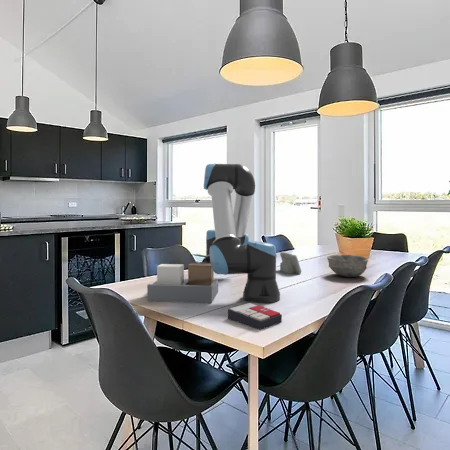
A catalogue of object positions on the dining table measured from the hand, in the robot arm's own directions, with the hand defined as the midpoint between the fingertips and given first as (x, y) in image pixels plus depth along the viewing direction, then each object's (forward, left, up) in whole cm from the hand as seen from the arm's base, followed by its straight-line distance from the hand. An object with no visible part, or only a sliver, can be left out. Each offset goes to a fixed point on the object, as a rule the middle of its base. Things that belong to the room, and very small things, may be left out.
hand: (201, 271), depth 167 cm
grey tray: (0, +11, -9) cm, 14 cm away
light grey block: (+5, +13, -7) cm, 16 cm away
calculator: (-41, +16, -10) cm, 45 cm away
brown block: (-2, +2, -7) cm, 8 cm away
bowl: (-33, -74, -9) cm, 82 cm away
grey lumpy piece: (-5, -65, -9) cm, 66 cm away
